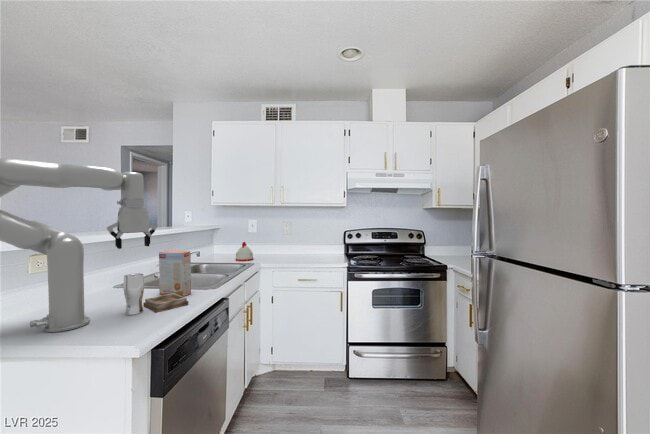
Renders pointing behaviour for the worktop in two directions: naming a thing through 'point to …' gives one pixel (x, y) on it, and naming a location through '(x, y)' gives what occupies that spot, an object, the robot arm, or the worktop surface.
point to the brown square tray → (165, 302)
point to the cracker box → (175, 272)
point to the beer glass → (133, 293)
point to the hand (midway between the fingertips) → (133, 247)
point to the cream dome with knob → (244, 253)
